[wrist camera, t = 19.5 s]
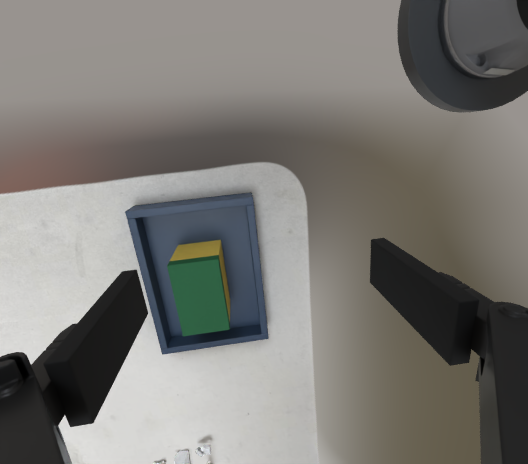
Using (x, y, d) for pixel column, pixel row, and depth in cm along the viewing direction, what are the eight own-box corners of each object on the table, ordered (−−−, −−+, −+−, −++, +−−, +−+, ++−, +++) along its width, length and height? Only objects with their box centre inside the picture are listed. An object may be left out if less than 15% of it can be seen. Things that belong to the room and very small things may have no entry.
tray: (133, 205, 38) (124, 211, 35) (251, 192, 39) (252, 196, 36) (167, 339, 45) (162, 354, 42) (266, 325, 46) (268, 338, 43)
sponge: (178, 245, 40) (166, 265, 33) (220, 239, 40) (218, 259, 33) (190, 306, 43) (182, 336, 36) (230, 300, 43) (229, 329, 37)
